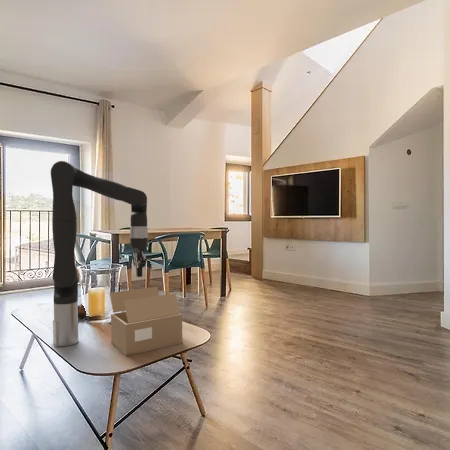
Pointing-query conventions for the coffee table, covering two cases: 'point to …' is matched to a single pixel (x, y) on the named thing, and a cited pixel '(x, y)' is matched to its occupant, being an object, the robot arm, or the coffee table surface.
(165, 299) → the near flap
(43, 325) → the coffee table surface
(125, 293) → the far flap
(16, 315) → the coffee table surface
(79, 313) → the decorative turtle
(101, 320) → the coffee table surface
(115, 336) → the carton
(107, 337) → the coffee table surface
